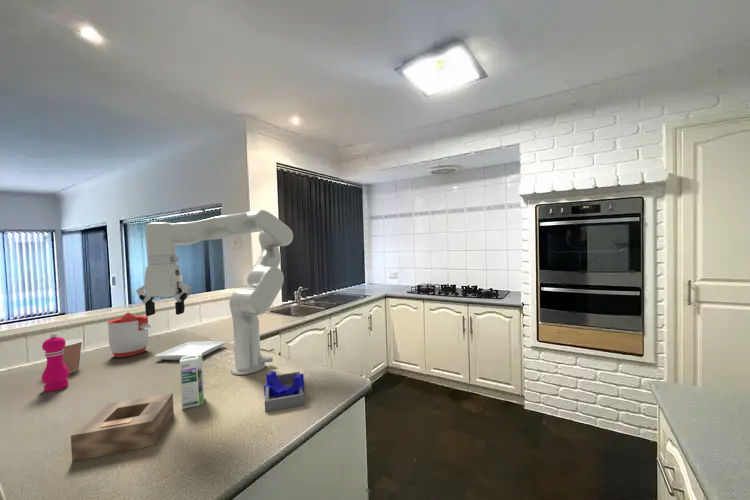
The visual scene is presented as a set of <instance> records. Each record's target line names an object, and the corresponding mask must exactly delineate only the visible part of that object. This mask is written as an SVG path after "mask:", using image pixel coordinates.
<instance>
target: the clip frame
mask: <svg viewBox="0 0 750 500" xmlns="http://www.w3.org/2000/svg"><path fill="white" fill-rule="evenodd" d="M298 374H301V372H300V371H294V372H289V373H288V372H287V373H281V374H276V375H277V378H278V380H279V381H280V382H281V383H282V384H283V385H287V384H291V383H292V384H293V383H294V377H295V376H297V375H298ZM266 384H267V379H266V380H265V385H266ZM269 394H270V392H269V387H266V390H265V395H264V412H265V413H268V412H272V411H277V410H284V409H289V408H294V407H298V406H305V394H304V393H303V388H302V386H301V387H299V394H296V395H291V396H287V395H284V396H281V397H275V398H274V397H273V398H270V397H271V396H270V395H269Z"/></svg>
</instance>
